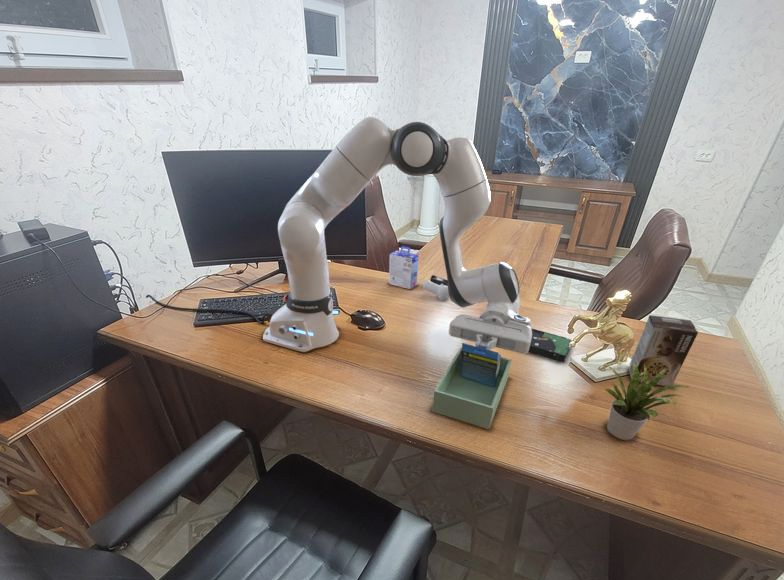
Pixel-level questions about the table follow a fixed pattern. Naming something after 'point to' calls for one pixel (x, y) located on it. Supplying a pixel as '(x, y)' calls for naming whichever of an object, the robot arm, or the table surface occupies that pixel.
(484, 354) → the tape cartridge
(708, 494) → the table surface
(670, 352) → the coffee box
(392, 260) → the ink cartridge box
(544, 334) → the disk drive
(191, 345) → the table surface
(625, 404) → the house plant
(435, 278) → the clip-on lamp
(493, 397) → the bin
